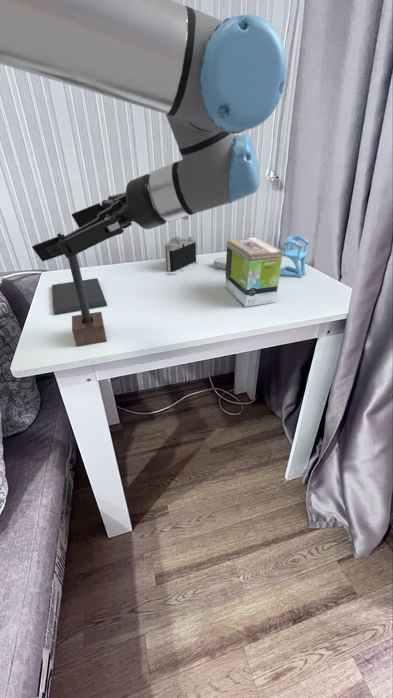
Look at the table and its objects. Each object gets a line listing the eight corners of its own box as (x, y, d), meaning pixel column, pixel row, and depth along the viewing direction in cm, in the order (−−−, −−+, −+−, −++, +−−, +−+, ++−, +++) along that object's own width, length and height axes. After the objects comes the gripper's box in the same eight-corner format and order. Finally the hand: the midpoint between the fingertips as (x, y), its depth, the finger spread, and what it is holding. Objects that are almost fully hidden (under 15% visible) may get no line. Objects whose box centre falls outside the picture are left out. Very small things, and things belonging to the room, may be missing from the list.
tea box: (277, 302, 91) (284, 250, 82) (244, 308, 88) (248, 254, 80) (253, 283, 103) (257, 235, 94) (224, 287, 100) (225, 238, 92)
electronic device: (220, 236, 113) (257, 242, 105) (220, 263, 119) (255, 271, 111) (210, 239, 110) (248, 246, 102) (211, 267, 115) (247, 275, 107)
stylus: (85, 338, 77) (65, 254, 65) (89, 334, 78) (70, 252, 67) (92, 339, 76) (73, 255, 65) (96, 335, 78) (78, 252, 66)
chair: (298, 279, 104) (304, 242, 97) (275, 274, 108) (279, 237, 102) (308, 272, 109) (315, 236, 102) (285, 267, 113) (290, 232, 107)
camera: (184, 257, 124) (183, 230, 118) (198, 261, 120) (197, 233, 115) (157, 268, 114) (155, 240, 109) (172, 272, 111) (170, 243, 105)
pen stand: (76, 346, 74) (71, 329, 71) (76, 332, 79) (71, 315, 76) (106, 341, 75) (103, 324, 73) (104, 327, 81) (101, 311, 78)
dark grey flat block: (52, 287, 102) (51, 284, 101) (97, 280, 106) (97, 277, 105) (54, 315, 86) (53, 311, 86) (107, 305, 91) (106, 302, 90)
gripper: (145, 258, 44) (34, 290, 52) (186, 194, 61) (98, 226, 70) (116, 204, 39) (1, 248, 48) (170, 152, 57) (78, 191, 65)
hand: (58, 235), depth 59 cm, fingers open, 13 cm apart
